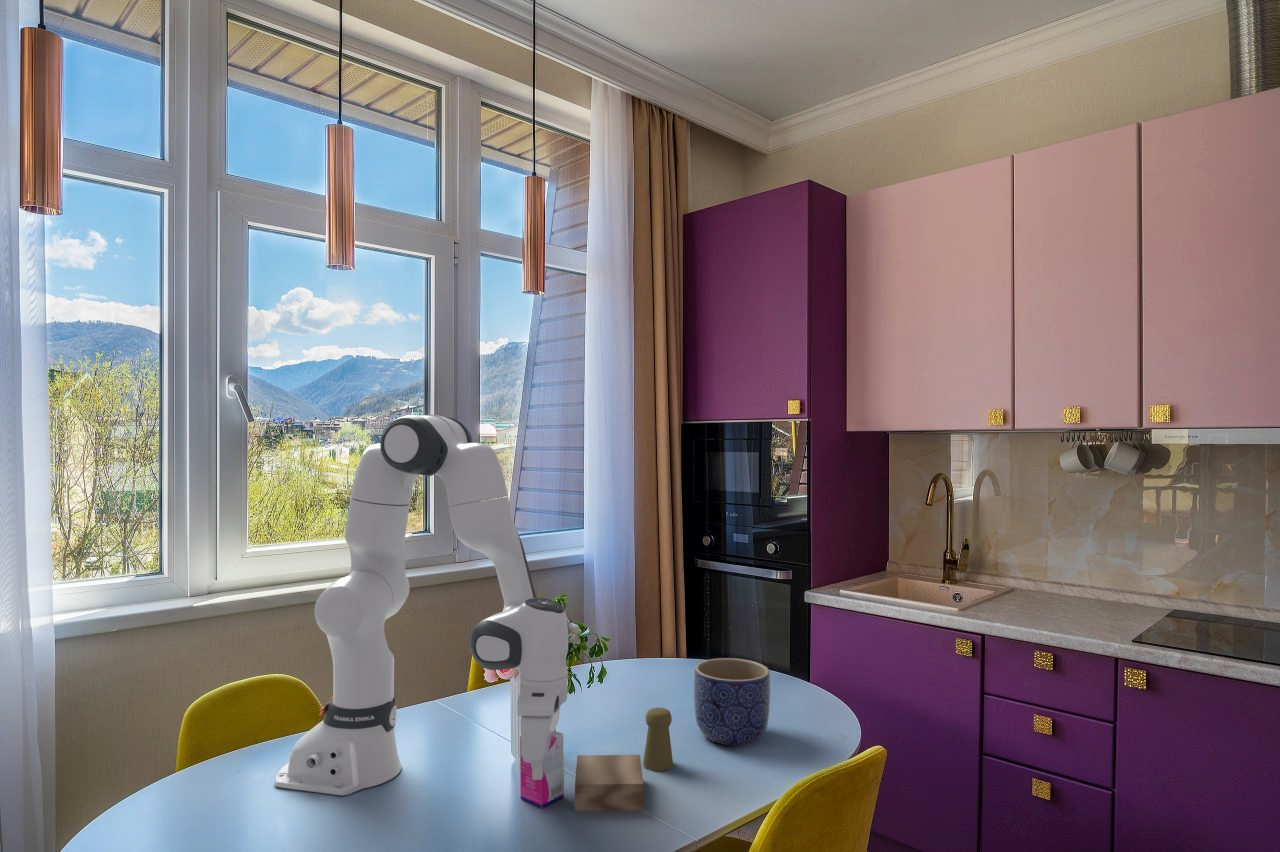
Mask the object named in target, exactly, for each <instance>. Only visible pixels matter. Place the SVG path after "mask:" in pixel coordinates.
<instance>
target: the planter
mask: <svg viewBox="0 0 1280 852" xmlns="http://www.w3.org/2000/svg"><path fill="white" fill-rule="evenodd" d="M693 678H694V679H693V683H694V684H693V685H694V686H693V692H694V694H693V695H694V696H693V701H694V717H695V722H696V724H697V727H698V729H699V730H700V733H701V734H703V736H704V737H706V738H707V739H708V740H709V741H711V742H714V743H716V744H719V745H722V746H729V747H730V746H731V747H742V746H747V745H750V744H753V743H754V742H756V741H758V740H759V739H760V738H761V737H762V736H763V735H764V733H765V732H766V730H767V728H768V725H769V719H770V711H771V710H770V709H771V708H770V707H771V671H770V669H769V668H768V667H767V666H766V665H764V664H762V663H760V662H757V661H753V660H749V659H744V658H735V657H733V658H732V657H726V658H725V657H724V658H723V657H722V658H721V657H718V658H712V659H711V658H710V659H706V660H703V661H701V662H700V661H699V663H697V664H696V665H695V667H694V675H693Z"/></svg>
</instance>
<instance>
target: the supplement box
mask: <svg viewBox="0 0 1280 852" xmlns="http://www.w3.org/2000/svg"><path fill="white" fill-rule="evenodd" d="M519 742H520V743H519V748H520V749H519V753H520V755H519V757H520V760H519V761H520V762H519V763H520V764H519V765H520V767H519V768H520V773H519V774H520V776H519V777H520V782H519V783H520V800H524V801H525V802H527V803H530V804H532V805H533V806H536V807H539V808H541V809H543V808H545V807H546V806H549V805H550V804H552V803H554V802H557V801H559V800H561V799H562V798H564V797H565V791H564V790H565V787H564V785H565V780H564V777H565V773H564V771H565V770H564V765H565V764H564V763H565V762H564V733H562V732H560V731H556V730H555V731H554V732H553V735H552V737H551V743H550V746H549V749H548V752H547V755H546V757H545V761H544V762H543V766H544V775H543V778H542V779H541V780H534V779H533V778H532V766H531V763H526V762H524V760H523V756H522V745H521V735H519Z"/></svg>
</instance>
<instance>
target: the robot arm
mask: <svg viewBox="0 0 1280 852" xmlns="http://www.w3.org/2000/svg"><path fill="white" fill-rule="evenodd" d="M433 475H435V476H437V477H439V478H440V479H441V480H442V482H443V484H444V488H445V491H446V496H447V504H448V509H449V511H448V512H449V517H450V522H451V526H452V528H453V532H454V534H455V536H456V538H457V539H458V541H459V542H461V543H462V544H463V545H464V546H465V547H467V548H469V549H471V550H474V551H477V552H479V553H481V554H482V555H484V556H486V557H487V558H489V560H490V561H491V563H492V564H493V566H494V568H495V571H496V574H497V579H498V582H499V583H498V584H499V587H500V592H501V595H502V598H503V603H504V604H503V609H502V611H501V612H498V613H495V614H493V615H491V616H488V617H487V618H484V619H482V620H481V621H480V622H478V623H477V624H476V625H475V626H474V627H473V629H472V630H471V633H470V636H469V650H470V653H471V656H472V657H473V659H474V661H475V662H476V663H477V664H478V665H479V666H480V667H482V668H483V669H486V670H489V671H501V670H502V671H503V670H510V669H516V670H518V698H517V699H518V700H517V704H516V705H517V706H516V707H517V708H516V714H517V716H519V717H520V736H521V745H522V756H523V760H524V762H526V763H531V766H532V778H533V779H534V780H541V779H542V778H543V775H544V766H543V762H544V761H545V757H546V755H547V752H548V749H549V746H550V743H551V737H552V735H553V732H554V731H556V730H557V726H558V724H559V721H560V716H561V715H560V710H561V706H562V704H564V703H566V702H567V700H568V686H569V685H568V681H569V680H568V678H569V677H568V675H569V674H568V673H569V670H568V666H567V662H566V660H567V654H568V651H569V631H568V629H569V628H568V619H567V614H566V611H565V608H564V607H563V606H562V605H561V603H559V602H557V601H555V600H553V599H550V598H545V597H537V595H536V591H535V587H534V583H533V579H532V575H531V573H530V572H531V571H530V568H529V564H528V560H527V556H526V553H525V549H524V548H525V547H524V545H523V542H522V540H521V536H520V535H519V532H518V530H517V528H516V525H515V522H514V518H513V515H512V514H513V513H512V511H511V506H510V505H511V504H510V501H509V497H508V496H509V495H508V489H507V485H506V481H505V476H504V472H503V469H502V466H501V464H500V460H499V458H498V456H497V453H496V451H495V450H494V449H493V448H492V447H491V446H490V445H488V444H484V443H481V442H474V441H473V437H472V435H471V432H470V431H469V429H468V427H466V425H464V424H463V423H462V422H461V421H459V420H457V419H455V418H453V417H448V416H441V415H438V414H424V415H415V414H407V415H404V416H401V417H397V418H396V419H393V420H392V421H391V422H389V423H388V424H387V426H385V428H384V430H383V431H382V433H381V435H380V441H379V443H375V444H372V445H370V446H368V447H367V448H366V449H365V450H364V451H363V452H362V455H361V457H360V460H359V462H358V465H357V467H356V470H355V475H354V480H353V483H352V487H351V491H350V492H351V493H350V497H349V499H350V500H349V503H348V504H349V505H348V506H349V507H348V511H347V518H346V524H345V532H344V539H345V541H346V543H347V545H348V546H349V552H350V553H349V554H350V571H349V574H348V575H345V576H344V577H341V578H338V579H336V580H335V581H333V582H332V583H331V584H330V585H328V587H326V589H325V590H324V591H322V593H321V594H320V595H319V596H318V598H317V599H316V602H315V605H314V609H313V610H314V611H313V613H314V619H315V621H316V624H317V626H318V627H319V629H320V630H321V631H322V632H323V633H324V634H325V635H326V637H327V638H326V639H327V641H328V645H329V648H330V649H329V650H330V652H331V658H332V668H333V670H332V673H333V674H332V675H333V677H332V679H333V681H332V682H333V683H332V686H333V687H332V688H333V689H332V693H333V694H332V696H331V697H330V698H329V700H328V701H327V702H325V704H323V706H322V708H320V709H319V712H320V713H319V717H321V716H323V720H321V721H320V722H318V723H317V724H316V725H315V726H313V728H311V729H310V730H309V731H308V732H306V733H305V734H304V735H302V736H301V737H300V738H299V739H298V740H297V742H295V744H294V745H293V747H292V750H291V753H290V756H289V761H288V762H287V763H285V765H283V766H282V768H280V769H279V771H278V772H277V774H276V775H275V779H274V780H275V781H274V786H275V787H276V788H281V789H290V790H295V791H296V790H297V791H303V792H305V791H306V792H312V793H313V792H314V793H320V794H328V795H336V796H348V795H350V794H352V793H356V792H358V791H360V790H363V789H367V788H372V787H374V786H378V785H381V784H384V783H387V782H388V781H390V780H392V779H393V778H395V777H396V776H398V774H399V773H400V772H401V770H402V763H401V760H400V757H399V751H398V748H397V747H398V746H397V740H396V734H395V733H396V731H395V726H396V722H397V698H396V697H397V696H396V695H395V694H394V691H395V689H394V687H395V685H394V684H395V656H394V654H393V652H392V651H391V650H390V649H389V645H388V642H387V638H386V633H385V623H386V620H387V619H389V618H390V617H393V616H395V615H396V614H397V613H398V612H399V611H400V609H401V608H402V607H403V605H404V604H405V603H406V602H407V599H408V597H409V595H410V587H411V586H410V582H409V581H410V580H409V578H408V577H407V575H406V561H405V559H406V558H405V556H406V555H405V541H406V534H407V533H406V532H407V528H408V527H407V525H408V518H409V513H410V506H411V498H412V493H413V486H414V483H415V481H416V480H417V478H418V477H419V476H426V477H432V476H433Z"/></svg>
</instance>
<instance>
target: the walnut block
mask: <svg viewBox="0 0 1280 852" xmlns="http://www.w3.org/2000/svg"><path fill="white" fill-rule="evenodd" d="M575 767H576V768H575V780H574V781H575V782H574V812H612V811H613V812H615V811H616V812H619V811H623V812H624V811H626V812H627V811H644V778H643V776H644V775H643V770H642V769H643V768H642V760H641V754H595V755H594V754H593V755H592V754H591V755H590V754H588V755H587V754H585V755H584V754H583V755H582V754H581V755H576V765H575Z"/></svg>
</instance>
